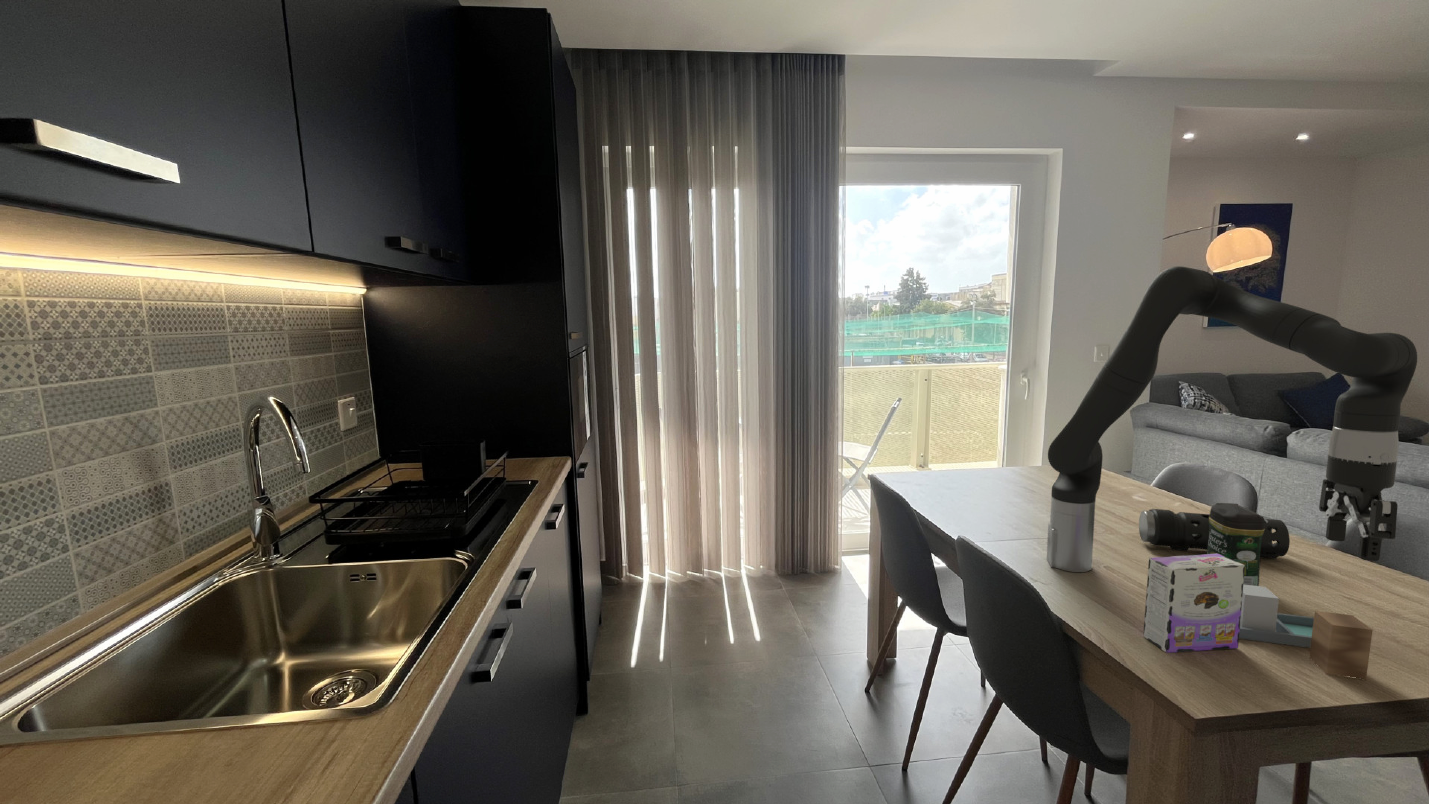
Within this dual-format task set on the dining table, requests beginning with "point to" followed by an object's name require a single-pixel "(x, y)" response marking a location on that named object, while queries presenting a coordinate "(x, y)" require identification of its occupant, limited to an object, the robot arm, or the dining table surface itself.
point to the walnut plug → (1340, 644)
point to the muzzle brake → (1202, 532)
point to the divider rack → (1271, 620)
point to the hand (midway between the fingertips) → (1351, 549)
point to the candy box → (1193, 602)
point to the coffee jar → (1237, 537)
